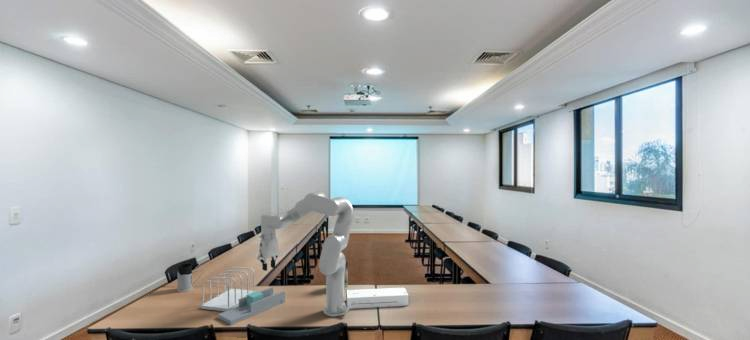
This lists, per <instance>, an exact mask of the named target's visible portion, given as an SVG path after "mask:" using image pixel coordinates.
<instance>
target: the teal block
mask: <svg viewBox="0 0 750 340" xmlns="http://www.w3.org/2000/svg"><path fill="white" fill-rule="evenodd" d="M254 291H255V292H253V293H250V294H247V306H248V307H250V304H251V303H253V302H256V301H258V300H261V299H263V293H260V292H259V291H258V290H254Z"/></svg>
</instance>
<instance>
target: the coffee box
mask: <svg viewBox="0 0 750 340" xmlns="http://www.w3.org/2000/svg"><path fill="white" fill-rule="evenodd" d="M348 265H349V264H348V261H347V260H346V264H345V273H344V289H346V288H348V287H349V279H348V278H349V277H348V276H349V273H348V272H349V271H348V270H349V269H348V268H349V267H348Z"/></svg>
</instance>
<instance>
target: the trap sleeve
mask: <svg viewBox="0 0 750 340" xmlns="http://www.w3.org/2000/svg"><path fill="white" fill-rule="evenodd" d="M258 292H260V293H263V299H261V300H258V301H256V302H253V303H251V304H250V307H248V306H247V296H246V297H243V298H240V299H239V305H238V306H237V307H235V308H233V309H230V310H228V311H222V312H220V313H218V314H217V319H219V320H221V321H223V322H224V323H227V324H229V325H231V326H232V325H234V324H238V323H239V322H241V321H244V320H246V319H249V318H251V317H253V316H256V315H258V314H260V313H263V312H265V311H267V310H269V309H272V308H273V307H276V306H279V305H281V304H283V303H285V302H286V298H285V295H286V293H285V291H284V290H282V291H279V292H277V293H274V286H270V287H268V288H265V289H263V290H259V291H258Z"/></svg>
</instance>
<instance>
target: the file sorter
mask: <svg viewBox="0 0 750 340" xmlns="http://www.w3.org/2000/svg"><path fill="white" fill-rule="evenodd" d="M233 269H241V270H233ZM242 269H245V270H251V271H252V274H253V275H252V278H253V279H252V280H253V281H252V282H253V283H252V285H253V286H252V288H253V289H252V290H249V275H248V274H249V273H247V271H243V270H242ZM227 272H230V273H227ZM237 273H244V274H246V283H247V284H246V286H247V287H246V289H243V277H242V275H240V274H237ZM221 275H223V277H222V276H221ZM220 276H221V277H220ZM226 276H230V277H226ZM232 276H237V277H239V278H240V288H237V285H236V283H237V282H236V280H235V279H234V278H233V277H232ZM213 279H216V280H213ZM219 279H223V281H219ZM226 280H230V284H228V283H227V282H226ZM232 282H234V284H233V283H232ZM205 283H209V300H208V301H206V302H205ZM211 283H216V292H217V293H216V296H215V297H213V298H212V284H211ZM219 284H223V292H221V293H220V294H219ZM232 284H233V285H234V288H232V287H233V286H232ZM226 287H227V290H226ZM255 291H256V290H255V270H254V269H253V268H251V267H242V266H241V267H240V266H233V267H231V268H230V269H229V270H228V269H227V270H225V271H224V272H223V273H222V272H221V273H219V274H217V276H211V278H209V280H205V281H203V283H202V304H200V309H201V310H202V309H204V310H209V311H210V310H211V311H219V312H225V311H228V310H230V309H233V308H235V307H238V306H239V299H240V298H243V297H246V296H247V294H250V293H253V292H255Z"/></svg>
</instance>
